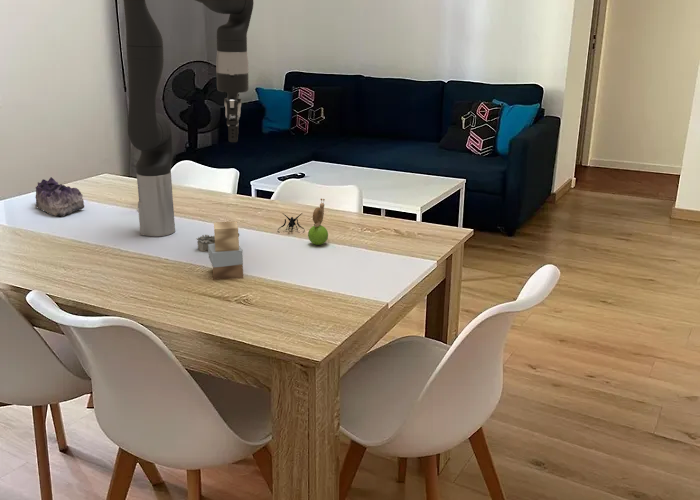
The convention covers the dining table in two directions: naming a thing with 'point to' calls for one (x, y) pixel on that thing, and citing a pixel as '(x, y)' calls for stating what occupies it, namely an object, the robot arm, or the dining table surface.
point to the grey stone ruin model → (205, 242)
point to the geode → (58, 198)
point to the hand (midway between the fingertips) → (233, 138)
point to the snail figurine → (318, 227)
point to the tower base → (228, 272)
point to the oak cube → (226, 236)
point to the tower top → (224, 257)
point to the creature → (291, 223)
